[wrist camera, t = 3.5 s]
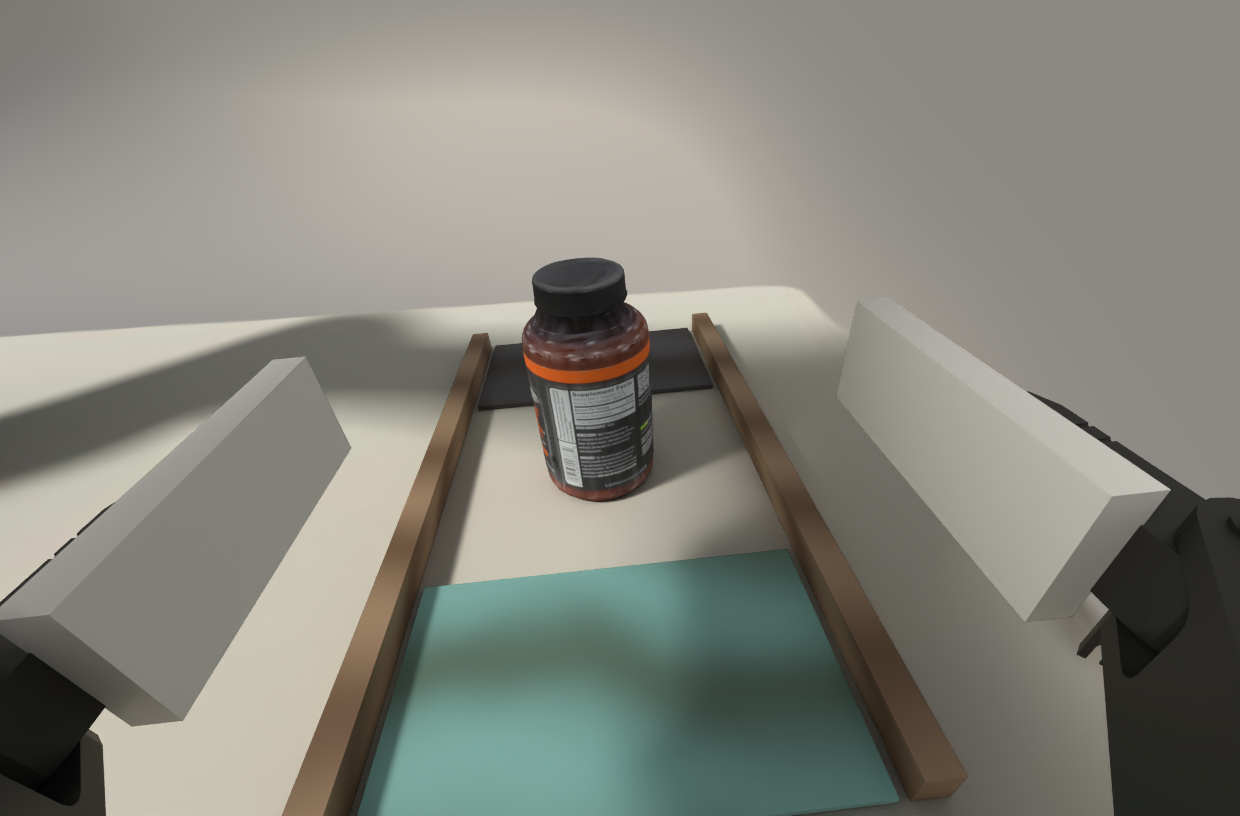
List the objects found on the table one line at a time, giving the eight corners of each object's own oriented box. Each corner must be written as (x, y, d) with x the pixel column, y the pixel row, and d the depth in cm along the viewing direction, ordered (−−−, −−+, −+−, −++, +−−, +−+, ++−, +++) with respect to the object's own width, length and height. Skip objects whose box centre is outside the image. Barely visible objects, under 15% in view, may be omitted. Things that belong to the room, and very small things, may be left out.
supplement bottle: (551, 439, 29) (517, 254, 23) (648, 430, 30) (641, 244, 23) (544, 511, 25) (498, 302, 18) (660, 501, 25) (655, 289, 18)
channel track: (950, 796, 14) (968, 776, 13) (289, 876, 14) (263, 861, 13) (706, 329, 40) (706, 312, 40) (477, 350, 40) (473, 334, 39)
